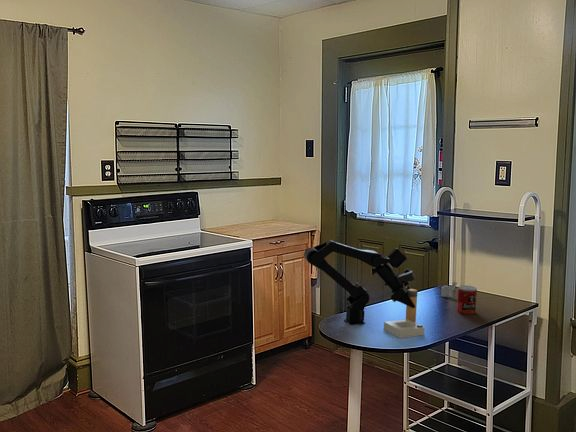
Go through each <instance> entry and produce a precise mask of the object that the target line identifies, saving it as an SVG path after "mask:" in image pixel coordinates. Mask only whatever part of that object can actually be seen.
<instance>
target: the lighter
mask: <svg viewBox="0 0 576 432" xmlns="http://www.w3.org/2000/svg"><path fill="white" fill-rule="evenodd" d="M457 284H458V283H457V282H456V281H453V282H452V284H451V285H450V286H449V285H443V286H441V293H440V297H443V298H450V299H451V294H452V293H451V292H452V291H454V290H455V287H456V286H457Z"/></svg>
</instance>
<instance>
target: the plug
mask: <svg viewBox="0 0 576 432" xmlns="http://www.w3.org/2000/svg"><path fill="white" fill-rule="evenodd" d="M407 290H408V296H409V297H410V299H411V300H412V302H413V303H414V305H415V308H412V307H409V306H407V305H405V306H406V307H405V319H409V320H411V321H413V322H415V323H417V322H416V321H417V305H418V290H417V289H415V288H410V289H407Z"/></svg>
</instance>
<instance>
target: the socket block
mask: <svg viewBox="0 0 576 432" xmlns="http://www.w3.org/2000/svg"><path fill="white" fill-rule="evenodd" d="M383 330H384V331H386V332H388V333H390V334H392V335H393V336H395V337H397V338H398V339H405V338H410V337H411V338H412V337H419V336H420V335H421V336H424V335H425V330H426V329H425V326H424V325H423V324H419V323H417V322H416V323H415V322H413V321H411V320H409V319H406V318H404V319H398V320H388V321H384V322H383Z"/></svg>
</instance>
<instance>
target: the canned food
mask: <svg viewBox="0 0 576 432" xmlns="http://www.w3.org/2000/svg"><path fill="white" fill-rule="evenodd" d="M477 290H478V289H477V287H475V286H472V285H466V284H465V285H464V284H463V285H459V286H458V290H457V305H456V310H457V313H459V314H461V315H474V314H475V313H476V307H477V306H476V305H477V303H476V302H477V294H478V293H477V292H478V291H477Z"/></svg>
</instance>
